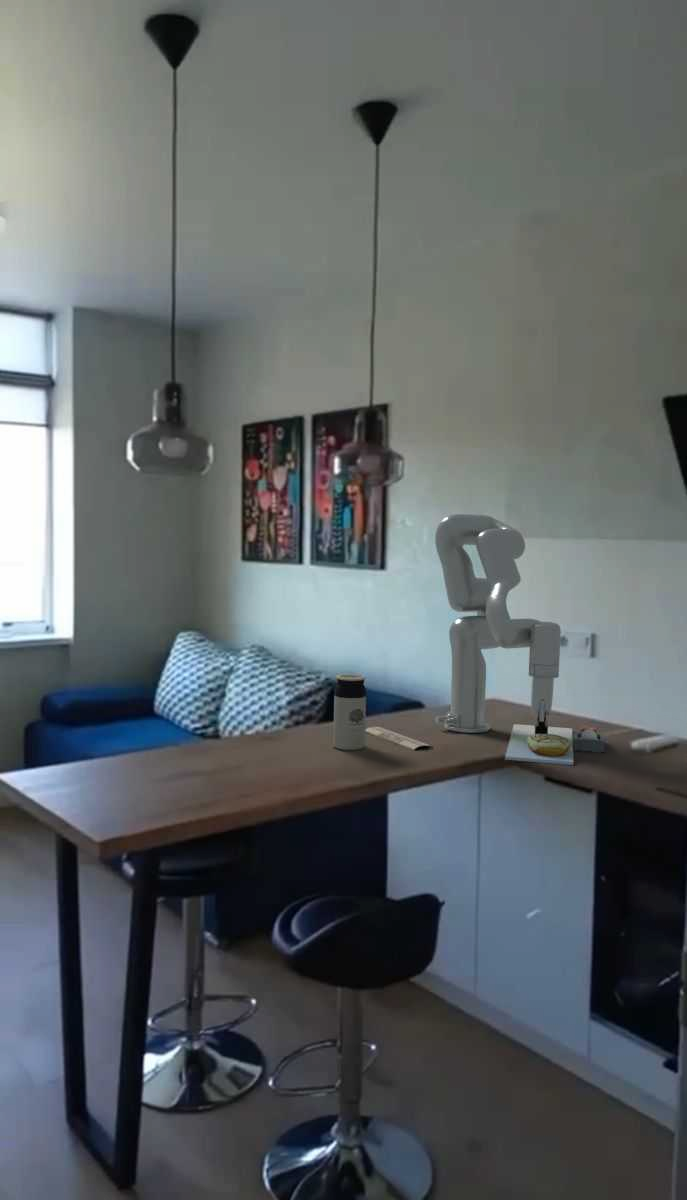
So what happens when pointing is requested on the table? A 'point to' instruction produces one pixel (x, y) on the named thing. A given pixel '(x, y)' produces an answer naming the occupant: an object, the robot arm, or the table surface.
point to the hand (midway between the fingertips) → (540, 741)
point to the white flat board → (523, 753)
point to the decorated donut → (548, 744)
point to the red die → (587, 728)
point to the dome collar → (589, 743)
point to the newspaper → (395, 738)
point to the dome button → (589, 734)
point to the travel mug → (349, 712)
